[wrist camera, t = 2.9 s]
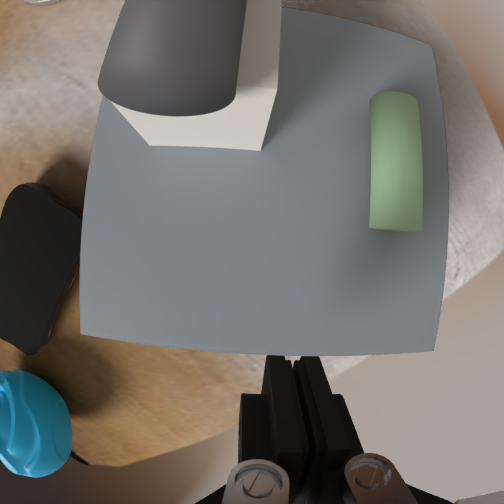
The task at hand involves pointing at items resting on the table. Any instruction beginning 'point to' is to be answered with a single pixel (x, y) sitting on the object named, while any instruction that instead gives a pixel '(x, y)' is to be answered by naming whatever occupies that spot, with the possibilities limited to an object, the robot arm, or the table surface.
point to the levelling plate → (265, 184)
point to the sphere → (32, 425)
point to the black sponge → (35, 263)
